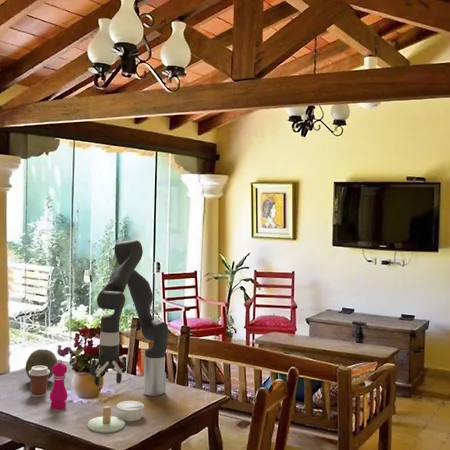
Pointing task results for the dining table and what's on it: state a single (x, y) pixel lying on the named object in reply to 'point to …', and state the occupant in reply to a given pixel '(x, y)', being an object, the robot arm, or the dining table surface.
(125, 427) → the mat
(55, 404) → the pepper mill
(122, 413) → the ramekin
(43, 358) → the cantaloupe
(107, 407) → the lid
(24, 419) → the dining table surface
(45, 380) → the coffee cup
